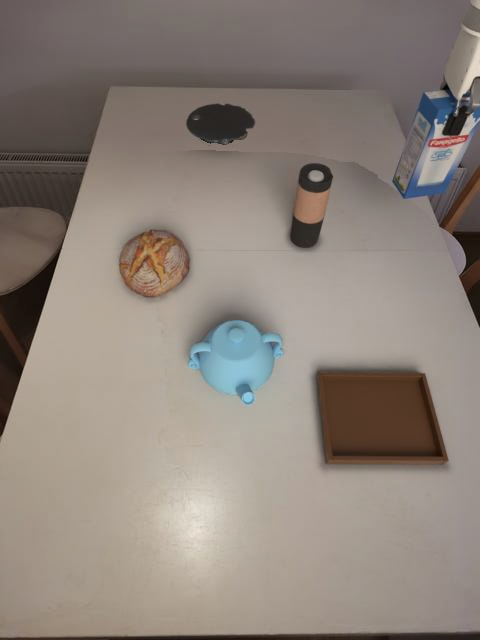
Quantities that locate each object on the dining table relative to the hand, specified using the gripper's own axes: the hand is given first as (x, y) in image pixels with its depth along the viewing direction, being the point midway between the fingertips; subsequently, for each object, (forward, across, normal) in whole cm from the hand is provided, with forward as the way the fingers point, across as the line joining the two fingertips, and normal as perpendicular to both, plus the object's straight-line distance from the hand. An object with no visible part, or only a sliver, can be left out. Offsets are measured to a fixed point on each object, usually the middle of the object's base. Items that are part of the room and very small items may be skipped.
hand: (445, 122), depth 83 cm
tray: (+33, -47, +12) cm, 59 cm away
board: (+33, +47, +47) cm, 74 cm away
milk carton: (+15, 0, 0) cm, 15 cm away
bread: (+33, -10, +60) cm, 69 cm away
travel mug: (+33, +2, +23) cm, 40 cm away
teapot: (+33, -39, +39) cm, 64 cm away
